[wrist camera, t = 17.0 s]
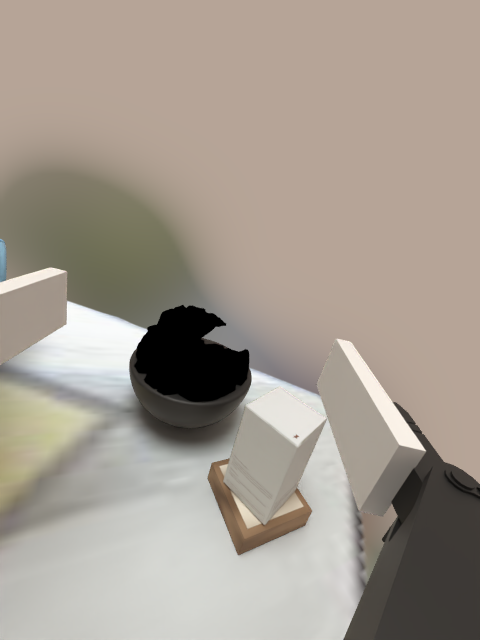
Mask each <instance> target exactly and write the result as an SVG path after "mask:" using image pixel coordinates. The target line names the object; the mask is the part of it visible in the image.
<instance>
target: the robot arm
mask: <svg viewBox="0 0 480 640" xmlns="http://www.w3.org/2000/svg"><path fill="white" fill-rule="evenodd" d="M66 317H67V272H66V271H62V270H59V269H55V268H51V267H50V268H47V269H44V270H40V271H37V272H34V273H30V274H27V275H23V276H20V277H17V278H13V279H10V280H7V281H6V246H5V242H4V241H3V240H1V239H0V365H1V364H3V363H4V362H6V361H8V360H9V359H11V358H13V357H14V356H16V355H17V354H19V353H21V352H22V351H24V350H25V349H27V348H29V347H30V346H32V345H33V344H35V343H37V342H38V341H40V340H42V339H43V338H45V337H46V336H48V335H50V334H51V333H53V332H54V331H56V330H58V329H59V328H61V327H63V326H64V325H66ZM317 387H318V390H319V393H320V396H321V399H322V402H323V405H324V408H325V411H326V414H327V417H328V420H329V423H330V426H331V429H332V432H333V435H334V438H335V441H336V444H337V447H338V450H339V453H340V456H341V459H342V462H343V465H344V468H345V471H346V474H347V477H348V480H349V483H350V486H351V489H352V492H353V495H354V498H355V501H356V504H357V507H358V510H359V511H360V512H364V513H369V514H373V515H378V516H383V515H384V514H385V513H386V511H387V510H388V508H389V507H390V505H391V504H393V507H394V509H395V511H396V513H397V515H398V517H397V518H396V520H395V521H394V523H393V524H392V526H391V527H390V528H389V530H388V531H387V533H386V534H385V535H384V537H383V538H382V541H383V542H385V543H384V545H383V548H382V550H381V552H380V555H379V557H378V559H377V562H376V564H375V566H374V569H373V571H372V573H371V576H370V578H369V581H368V583H367V585H366V588H365V590H364V592H363V595H362V597H361V599H360V602H359V604H358V607H357V609H356V611H355V614H354V616H353V618H352V621H351V623H350V625H349V628H348V630H347V632H346V635H345V637H344V640H480V484H479V483H478V482H477V481H476V480H474V478H473V477H471V476H470V475H468V474H467V473H466V472H464V471H463V470H461V469H459V468H458V467H456V466H454V465H451V464H448V463H445V462H443V460H442V459H441V457H440V456H439V455H438V453H437V452H436V451H435V449H434V448H433V447H432V445H431V444H430V442H429V441H428V440H427V438H426V437H425V435H424V434H422V431H421V430H420V429H419V427H418V426H417V425H415V422H414V421H413V419H412V418H411V416H410V415H409V414H408V412H406V411H405V410H404V409H403V408H402V407H401V406H400V405H398V404H397V403H395V402H392V401H391V400H390V398H389V397H388V395H387V394H386V393H385V391H384V389H383V388H382V386H381V385H380V384H379V382H378V381H377V379H376V378H375V376H374V375H373V373H372V372H371V370H370V369H369V368H368V366H367V365H366V363H365V362H364V360H363V359H362V357H361V356H360V355H359V353H358V352H357V350H356V349H355V347H354V346H353V344H352V343H351V342H348V341H344V340H340V339H335V342H334V345H333V347H332V349H331V351H330V354H329V356H328V359H327V361H326V363H325V366H324V368H323V371H322V373H321V375H320V378H319V380H318V383H317Z"/></svg>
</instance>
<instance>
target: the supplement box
mask: <svg viewBox="0 0 480 640" xmlns="http://www.w3.org/2000/svg"><path fill="white" fill-rule="evenodd" d="M326 420H327V418H326V417H324V416H323V415H321V414H320V413H318V412H317V411H315V410H314V409H312V408H311V407H310V406H308V405H307V404H305V403H304V402H302V401H301V400H299V399H298V398H296V397H295V396H293V395H292V394H291V393H289V392H288V391H286V390H285V389H283V388H282V387H280V386H279V387H278V388H276V389H274V390H272V391H271V392H269V393H267V394H265V395H264V396H262V397H260V398H258V399H256V400H254V401H252V402H250V403H248V404H246V405H245V409H244V413H243V416H242V420H241V423H240V426H239V430H238V433H237V436H236V440H235V443H234V446H233V449H232V453H231V456H230V459H229V463H228V466H227V470H226V473H225V477H224V480H223V482H224V483H225V484H226V485H227V486H228V487H229V488H230V489H231V490H232V491H233V493H234V494H235V495H236V496H237V497H238V498H239V499H240V500H241V501H242V502H243V503H244V504H245V505H246V506H247V507H248V508H249V510H250V511H251V512H252V513H253V514H254V515H255V516H256V517H257V518H258V519H259V520H260V521H261V522H262V523H263V524H264V525H265V524H266V523H267V522H268V521H269V520H270V519H271V518H272V517H273V515H274V514H275V513H276V512H277V511H278V510H279V509H280V507H281V506H282V505H283V504H284V503H285V502H286V501H287V500H288V498H289V497H290V496H291V495H292V494H293V493H294V492H295V490H296V488H297V486H298V483H299V481H300V479H301V477H302V474H303V472H304V470H305V467H306V465H307V463H308V461H309V458H310V456H311V454H312V452H313V450H314V447H315V445H316V443H317V440H318V438H319V436H320V434H321V431H322V429H323V427H324V424H325V422H326Z"/></svg>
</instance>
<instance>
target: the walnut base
mask: <svg viewBox="0 0 480 640" xmlns="http://www.w3.org/2000/svg"><path fill="white" fill-rule="evenodd" d="M228 463H229V459H226V460H222V461H218V462H214V463H212V464H211V468H210V471H209V475H208V480H209V483H210V485H211V488H212V490H213V493H214V495H215V498H216V500H217V503H218V505H219V508H220V511H221V513H222V516H223V518H224V521H225V523H226V526H227V528H228V531H229V533H230V536H231V538H232V541H233V543H234V546H235V548H236V551H237V553H238V555H240V554H242V553H244V552H246V551H249V550H251V549H253V548H255V547H258V546H260V545H262V544H264V543H267V542H269V541H271V540H273V539H276V538H278V537H280V536H282V535H285V534H287V533H289V532H291V531H294V530H296V529H298V528H300V527H303V526H305V524H306V522H307V520H308V518H309V516H310V514H311V512H312V510H311V508H310V507H309V505H308V504H307V502H306V501H305V499H304V498H303V496H302V495H301V493H300V491H299V490H298V488H296V490H295V492H294V493H293V494H292V495H291V496H290V497H289V498H288V500H287V501H286V502H285V503H284V504H283V505H282V506H281V507H280V509H279V510H278V511H277V512H276V513H275V514H274V515H273V517H272V518H271V519H270V520H269V521H268V522H267V523H266V524H265V525H264V524H263V523H262V522H261V521H260V520H259V519H258V518H257V517H256V516H255V515H254V514H253V513H252V512H251V511H250V510H249V508H248V507H247V506H246V505H245V504H244V503H243V502H242V501H241V500H240V499H239V498H238V497H237V496H236V495H235V494H234V493H233V491H232V490H231V489H230V488H229V487H228V486H227V485H226V484H225V483H224V482H223V480H224V477H225V473H226V470H227V466H228Z"/></svg>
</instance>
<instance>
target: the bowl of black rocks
mask: <svg viewBox="0 0 480 640" xmlns="http://www.w3.org/2000/svg"><path fill="white" fill-rule="evenodd" d="M220 326H226V323H224V322H223V321H222V320H221V319H220V318H218V317H217V316H216V315H215V314H213V313H207V312H206V311H205V309H202V308H198V307H195V306H188V307H187V308H186V307H184V305H182V306H179V307H175V308H174V309H169V310H166V311H164V312H162V314H161V316H160V319H159V321H158V324H157V325H153V326H150V327H148V328H147V330H148V332H147V333H146V334H145V335H144V336H143V338H142V339H141V342H139V344H138V346H137V349H136V350H135V351H134V352H133V354H132V356H131V359H130V365H129V370H130V379H131V383H132V386H133V389H134V392H135V394H136V396H137V398H138V399H139V401H140V402H141V404H142V405H143V406H144V408H145V409H146V410H147V411H148V412H150V413H151V414H152V415H153V416H154V417H156V418H157V419H159V420H161V421H163V422H165V423H167V424H169V425H172V426H176V427H182V428H198V427H204V426H208V425H211V424H213V423H216V422H218V421H220V420H222V419H223V418H225V417H226V416H228V415H229V414H230V413H232V412H233V411H234V410H235V409H236V408H237V407H238V406H239V404H240V403H241V402H242V401H243V399H244V397H245V396H246V394H247V392H248V390H249V388H250V385H251V371H250V369H249V351H248V350H246V349H245V350H243V351H240V352H238V351H235V350H231V349H229V348H227V347H225V346H223V345H221V344H219V343H217V342H214V341H211V340H207V339H204V338H202V337H204V336H205V335H206V334H208V333H209V332H210V331H212V330H213V329H214V328H215V327H220Z"/></svg>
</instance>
